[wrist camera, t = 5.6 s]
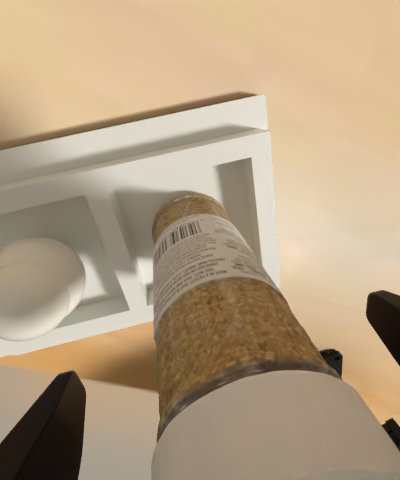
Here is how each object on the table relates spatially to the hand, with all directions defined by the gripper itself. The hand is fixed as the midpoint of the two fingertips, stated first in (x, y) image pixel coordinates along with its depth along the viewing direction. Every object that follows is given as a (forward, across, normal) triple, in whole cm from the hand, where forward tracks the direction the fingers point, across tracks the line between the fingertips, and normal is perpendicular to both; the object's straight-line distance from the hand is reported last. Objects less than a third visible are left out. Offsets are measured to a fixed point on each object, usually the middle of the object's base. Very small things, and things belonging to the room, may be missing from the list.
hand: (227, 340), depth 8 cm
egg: (+9, +8, 0) cm, 12 cm away
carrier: (+10, +4, 0) cm, 11 cm away
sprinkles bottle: (+9, 0, 0) cm, 9 cm away
